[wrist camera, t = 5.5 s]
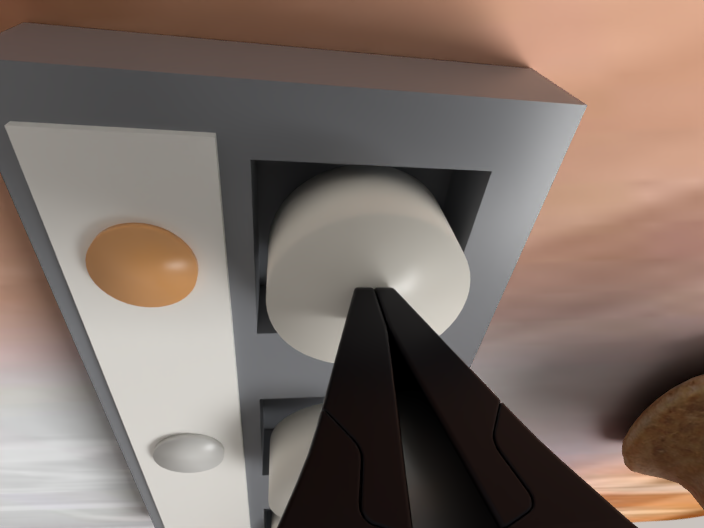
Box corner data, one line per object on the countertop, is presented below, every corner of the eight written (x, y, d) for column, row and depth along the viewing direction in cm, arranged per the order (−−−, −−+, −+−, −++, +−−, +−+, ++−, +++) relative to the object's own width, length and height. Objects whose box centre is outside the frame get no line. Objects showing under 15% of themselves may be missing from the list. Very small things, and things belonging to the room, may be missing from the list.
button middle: (384, 463, 17) (393, 518, 16) (270, 471, 16) (269, 529, 15) (405, 398, 14) (419, 458, 13) (269, 404, 14) (267, 467, 12)
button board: (380, 501, 25) (389, 558, 23) (182, 517, 24) (172, 580, 21) (531, 68, 10) (598, 112, 8) (23, 22, 9) (-67, 62, 6)
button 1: (423, 307, 13) (442, 362, 11) (269, 307, 12) (267, 367, 10) (464, 168, 10) (498, 217, 8) (267, 159, 9) (264, 209, 8)
